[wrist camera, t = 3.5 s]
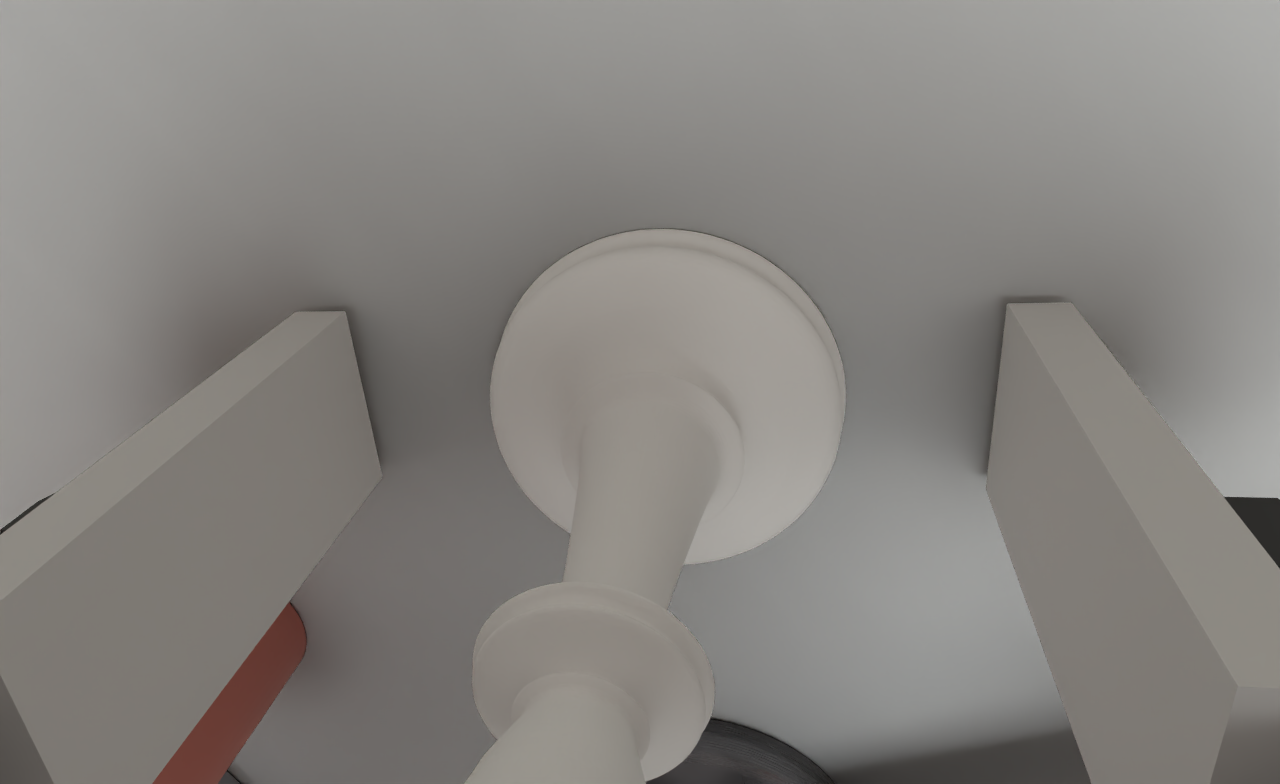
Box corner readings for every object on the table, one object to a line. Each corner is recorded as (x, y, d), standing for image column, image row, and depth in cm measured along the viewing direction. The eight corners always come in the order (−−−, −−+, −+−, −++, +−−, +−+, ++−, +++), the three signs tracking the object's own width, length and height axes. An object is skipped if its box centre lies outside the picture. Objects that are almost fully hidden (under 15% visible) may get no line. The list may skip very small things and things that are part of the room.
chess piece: (848, 541, 13) (967, 1707, 5) (527, 543, 14) (101, 1527, 5) (842, 214, 11) (1046, 1197, 2) (467, 241, 12) (-387, 1035, 3)
